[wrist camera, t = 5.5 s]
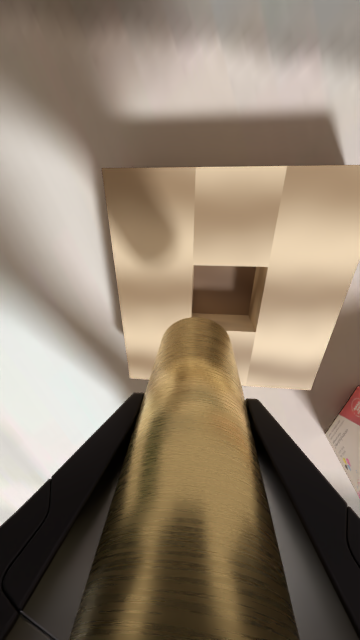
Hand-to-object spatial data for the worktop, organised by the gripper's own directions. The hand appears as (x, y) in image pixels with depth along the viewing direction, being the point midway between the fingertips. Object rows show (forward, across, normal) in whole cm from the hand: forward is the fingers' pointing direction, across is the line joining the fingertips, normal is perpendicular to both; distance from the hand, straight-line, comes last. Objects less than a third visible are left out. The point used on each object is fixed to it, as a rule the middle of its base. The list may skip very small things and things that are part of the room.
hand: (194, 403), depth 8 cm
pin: (+3, 0, 0) cm, 3 cm away
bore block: (+13, -2, 0) cm, 13 cm away
